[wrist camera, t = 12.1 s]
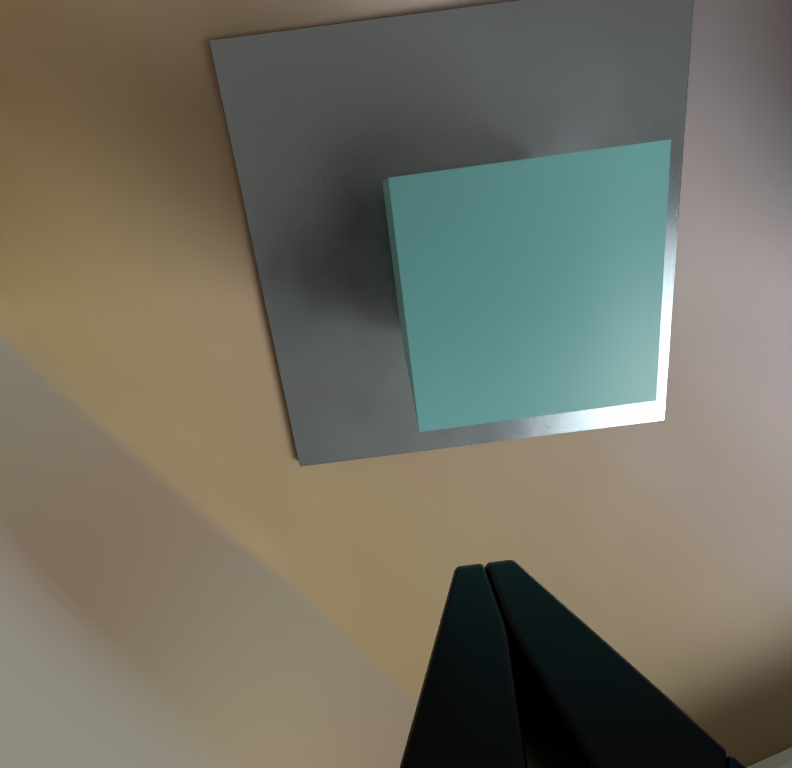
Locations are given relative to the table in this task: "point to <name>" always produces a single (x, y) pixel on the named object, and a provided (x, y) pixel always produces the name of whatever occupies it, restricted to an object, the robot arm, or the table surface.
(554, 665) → the robot arm
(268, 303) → the thin grey square plate
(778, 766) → the butter dish
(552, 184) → the teal tilted cuboid
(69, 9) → the table surface
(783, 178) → the table surface
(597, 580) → the table surface
